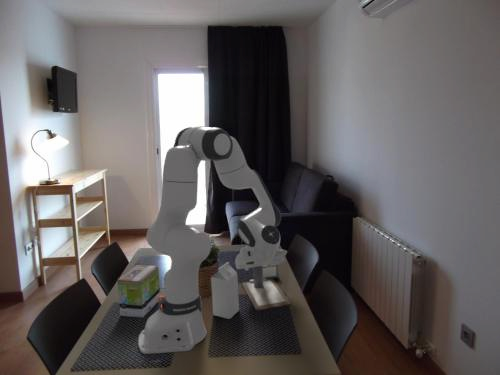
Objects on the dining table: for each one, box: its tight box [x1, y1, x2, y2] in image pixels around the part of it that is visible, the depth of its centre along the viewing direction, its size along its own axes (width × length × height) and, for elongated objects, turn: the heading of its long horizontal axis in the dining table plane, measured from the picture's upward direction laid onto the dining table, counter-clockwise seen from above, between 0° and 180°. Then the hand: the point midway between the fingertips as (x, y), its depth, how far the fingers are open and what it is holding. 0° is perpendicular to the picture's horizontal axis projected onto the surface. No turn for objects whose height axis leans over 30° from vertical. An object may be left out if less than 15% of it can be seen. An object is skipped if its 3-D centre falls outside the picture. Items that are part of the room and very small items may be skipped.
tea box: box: [117, 264, 161, 318], centre depth 148 cm, size 15×10×15 cm
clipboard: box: [241, 278, 292, 312], centre depth 156 cm, size 14×24×2 cm, turn 14°
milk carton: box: [210, 261, 240, 320], centre depth 141 cm, size 7×7×19 cm
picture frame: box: [263, 264, 279, 279], centre depth 170 cm, size 8×1×6 cm, turn 104°
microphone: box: [252, 266, 263, 288], centre depth 160 cm, size 4×4×13 cm
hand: (257, 267), depth 160 cm, fingers open, 8 cm apart
